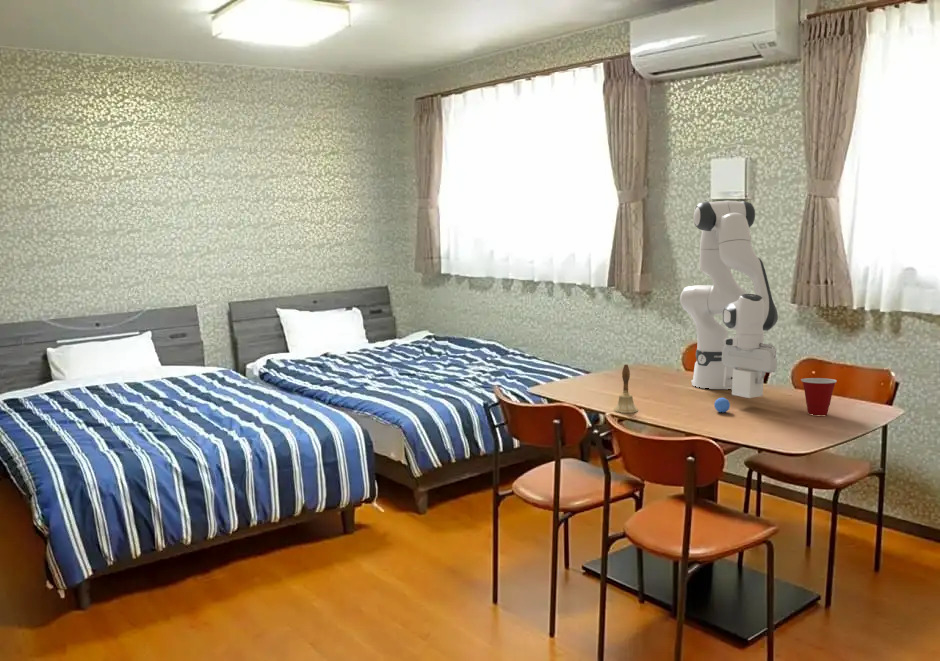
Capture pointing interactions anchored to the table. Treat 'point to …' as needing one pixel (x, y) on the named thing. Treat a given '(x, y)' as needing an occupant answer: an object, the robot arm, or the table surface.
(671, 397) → the table surface
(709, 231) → the robot arm
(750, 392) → the white cube block
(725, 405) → the ball
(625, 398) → the hand bell
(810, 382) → the plastic cup
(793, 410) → the table surface
